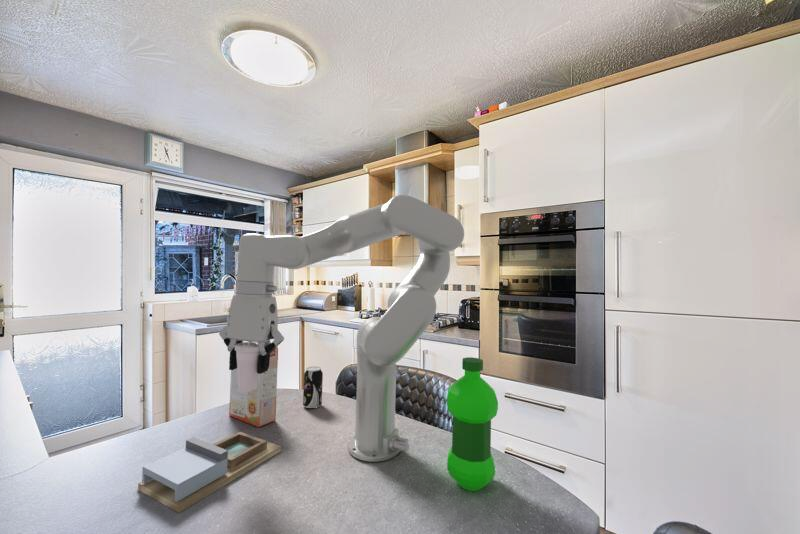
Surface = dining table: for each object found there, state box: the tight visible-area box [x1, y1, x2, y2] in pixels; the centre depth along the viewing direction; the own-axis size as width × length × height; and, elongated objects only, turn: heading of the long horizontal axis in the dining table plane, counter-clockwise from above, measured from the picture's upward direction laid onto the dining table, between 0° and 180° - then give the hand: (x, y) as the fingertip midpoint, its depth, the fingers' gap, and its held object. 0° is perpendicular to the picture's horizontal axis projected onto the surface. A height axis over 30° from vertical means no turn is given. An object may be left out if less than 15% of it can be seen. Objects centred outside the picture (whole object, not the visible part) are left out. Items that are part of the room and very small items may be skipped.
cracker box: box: [228, 346, 279, 428], centre depth 96 cm, size 14×6×21 cm, turn 58°
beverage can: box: [302, 366, 324, 409], centre depth 105 cm, size 6×6×12 cm
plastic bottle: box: [446, 356, 499, 492], centre depth 68 cm, size 10×10×25 cm
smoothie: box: [235, 341, 261, 391], centre depth 74 cm, size 6×6×14 cm
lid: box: [141, 436, 228, 502], centre depth 65 cm, size 11×10×4 cm
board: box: [137, 431, 282, 514], centre depth 71 cm, size 13×23×3 cm, turn 153°
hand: (248, 369), depth 74 cm, fingers closed on smoothie, 6 cm apart
